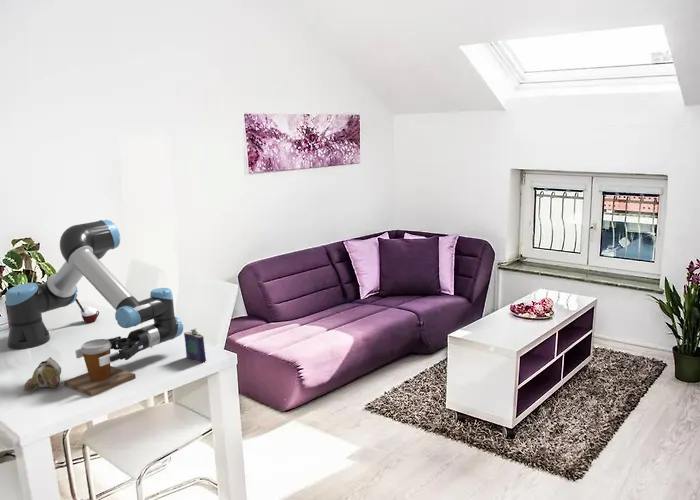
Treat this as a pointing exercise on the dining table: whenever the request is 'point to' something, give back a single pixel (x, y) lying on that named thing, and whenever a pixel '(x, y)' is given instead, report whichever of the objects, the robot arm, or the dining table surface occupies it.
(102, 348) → the disposable coffee cup
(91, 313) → the cocoa
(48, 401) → the dining table surface
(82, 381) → the walnut board
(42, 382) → the ceramic sculpture
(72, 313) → the dining table surface
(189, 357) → the flask
